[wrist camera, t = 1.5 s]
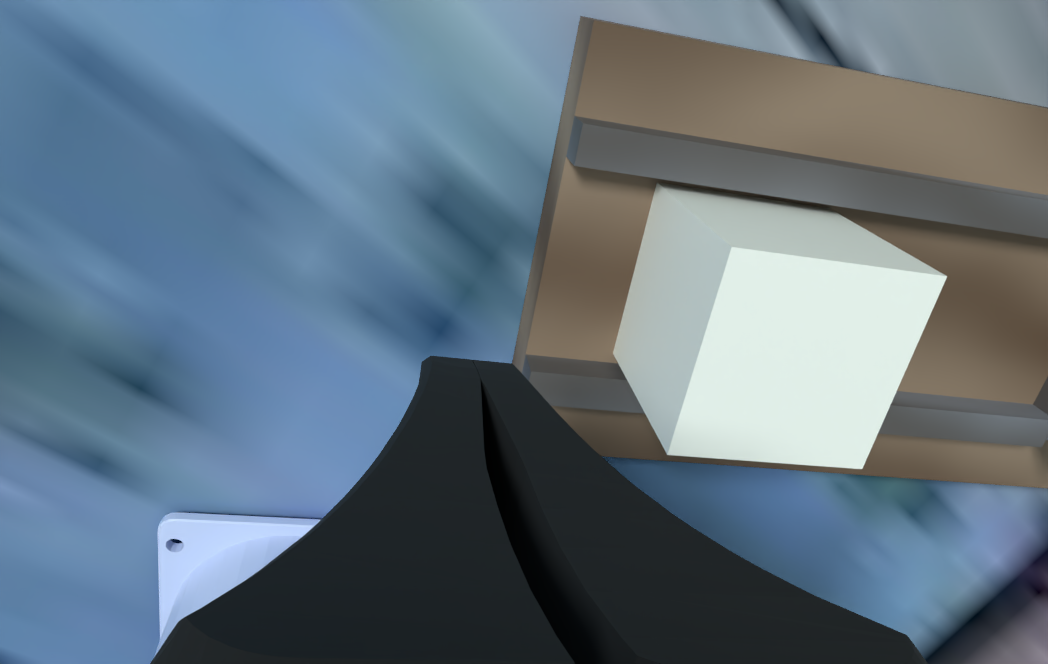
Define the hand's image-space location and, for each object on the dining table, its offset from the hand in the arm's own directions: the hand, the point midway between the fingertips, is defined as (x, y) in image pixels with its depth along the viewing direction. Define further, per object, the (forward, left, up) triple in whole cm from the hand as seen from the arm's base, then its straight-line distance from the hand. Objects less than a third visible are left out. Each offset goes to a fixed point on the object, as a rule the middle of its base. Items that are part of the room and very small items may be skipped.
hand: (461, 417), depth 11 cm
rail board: (0, -14, -10) cm, 17 cm away
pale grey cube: (0, -8, -9) cm, 12 cm away
